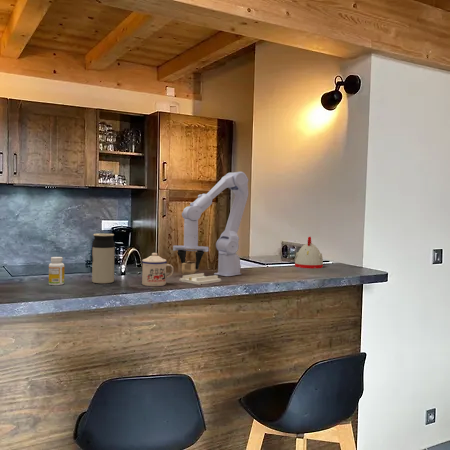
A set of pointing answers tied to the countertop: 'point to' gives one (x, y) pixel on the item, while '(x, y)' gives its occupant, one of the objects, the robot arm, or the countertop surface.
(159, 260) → the teacup with lid
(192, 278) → the cream flat piece
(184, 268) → the frame
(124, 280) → the countertop surface
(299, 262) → the kitchen timer
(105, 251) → the travel mug
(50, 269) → the supplement bottle
